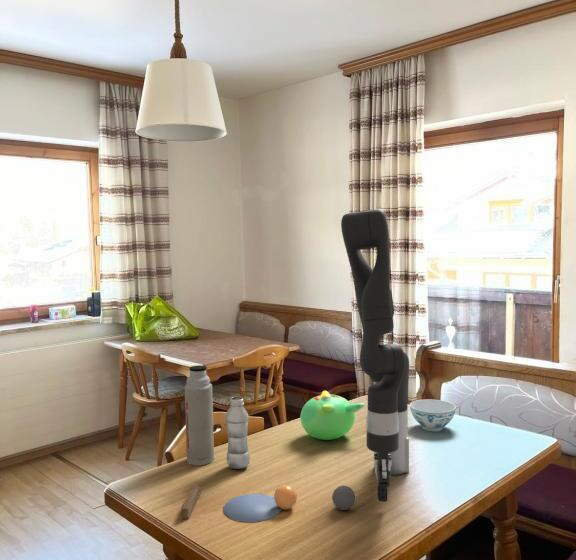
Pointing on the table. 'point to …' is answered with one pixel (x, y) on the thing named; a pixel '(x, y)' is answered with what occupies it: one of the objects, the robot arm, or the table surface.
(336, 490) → the charcoal ball
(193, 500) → the walnut rail
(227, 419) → the plastic bottle
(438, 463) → the table surface
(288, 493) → the orange ball
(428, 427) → the chinaware
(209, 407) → the thermos bottle
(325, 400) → the green bird toy
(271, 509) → the blue mark
